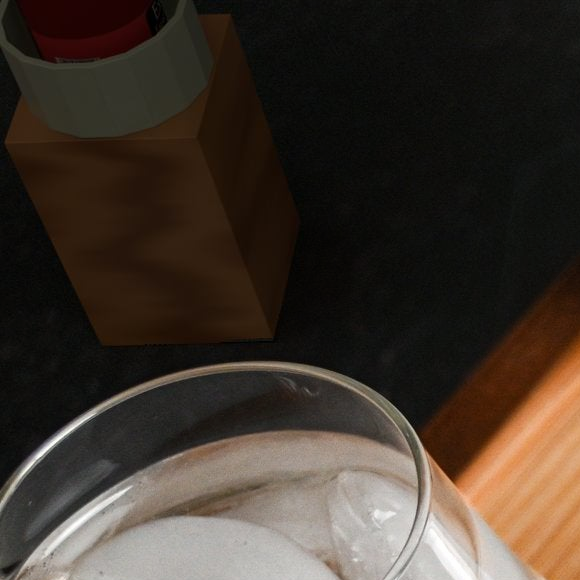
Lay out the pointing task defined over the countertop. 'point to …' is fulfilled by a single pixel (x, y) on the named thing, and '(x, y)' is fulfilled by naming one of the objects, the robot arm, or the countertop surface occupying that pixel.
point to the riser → (170, 213)
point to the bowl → (112, 77)
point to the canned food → (89, 27)
